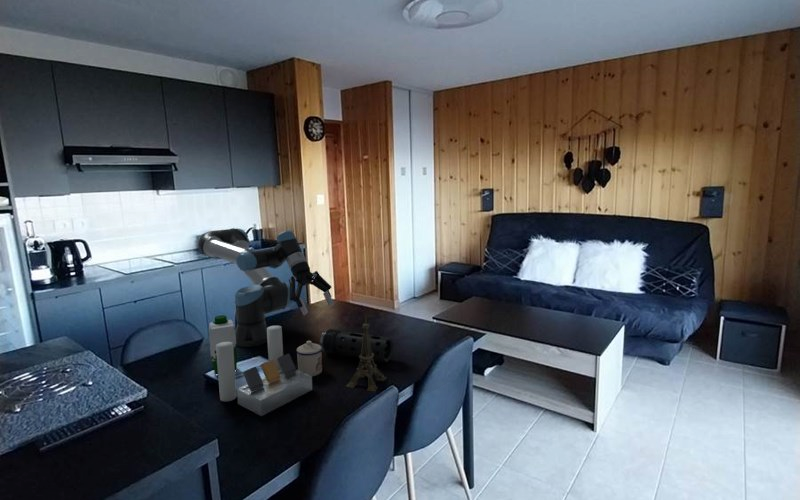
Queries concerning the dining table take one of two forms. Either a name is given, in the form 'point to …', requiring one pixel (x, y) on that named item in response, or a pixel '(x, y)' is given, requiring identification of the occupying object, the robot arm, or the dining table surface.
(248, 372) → the paddle left
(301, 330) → the dining table surface
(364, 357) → the eiffel tower
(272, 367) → the block
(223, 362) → the post near
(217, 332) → the milk carton
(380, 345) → the muzzle brake
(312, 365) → the teacup with lid
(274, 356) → the post far
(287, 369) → the paddle right
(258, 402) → the block
